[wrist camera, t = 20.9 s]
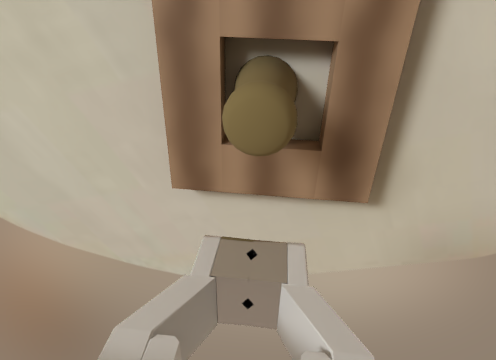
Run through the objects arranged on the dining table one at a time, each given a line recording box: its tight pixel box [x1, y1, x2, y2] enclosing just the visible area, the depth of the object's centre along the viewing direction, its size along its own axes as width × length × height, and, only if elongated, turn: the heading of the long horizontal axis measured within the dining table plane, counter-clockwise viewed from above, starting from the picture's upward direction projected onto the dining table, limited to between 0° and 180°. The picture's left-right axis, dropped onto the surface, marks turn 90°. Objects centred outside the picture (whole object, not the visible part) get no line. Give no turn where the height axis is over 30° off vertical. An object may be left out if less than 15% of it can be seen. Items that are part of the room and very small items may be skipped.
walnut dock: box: [152, 0, 420, 203], centre depth 29 cm, size 20×20×3 cm
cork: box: [222, 55, 298, 157], centre depth 25 cm, size 6×6×11 cm
